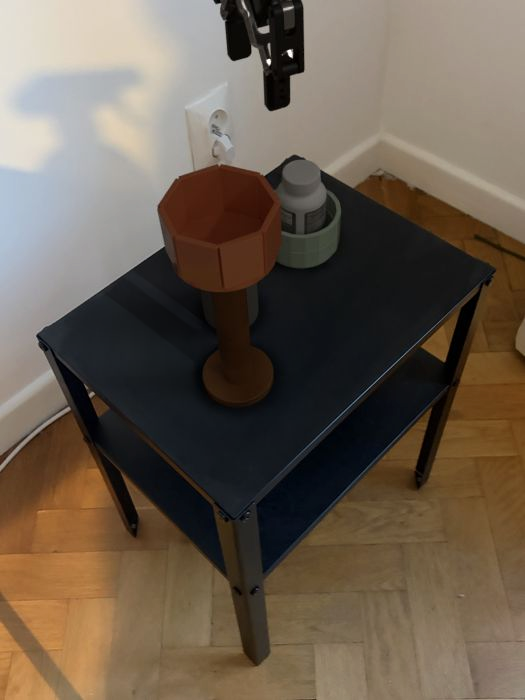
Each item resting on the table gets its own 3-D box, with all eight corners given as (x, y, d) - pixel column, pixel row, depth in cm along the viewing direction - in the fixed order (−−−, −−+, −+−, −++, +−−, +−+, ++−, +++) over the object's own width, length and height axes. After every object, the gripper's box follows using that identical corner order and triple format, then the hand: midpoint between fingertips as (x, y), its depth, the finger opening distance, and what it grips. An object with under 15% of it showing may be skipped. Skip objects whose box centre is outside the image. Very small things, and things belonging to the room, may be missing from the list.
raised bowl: (192, 307, 55) (184, 261, 51) (155, 233, 59) (145, 186, 55) (296, 270, 56) (296, 223, 52) (252, 201, 61) (249, 153, 57)
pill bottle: (322, 221, 84) (325, 153, 76) (326, 255, 81) (329, 188, 73) (276, 223, 84) (274, 155, 76) (278, 257, 81) (276, 190, 73)
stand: (219, 418, 70) (198, 296, 55) (193, 364, 74) (168, 236, 59) (285, 391, 71) (282, 266, 57) (256, 340, 75) (247, 210, 61)
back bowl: (282, 279, 80) (281, 247, 76) (251, 229, 85) (248, 196, 81) (352, 254, 82) (355, 222, 78) (317, 206, 86) (318, 173, 82)
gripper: (168, -139, 56) (192, 53, 70) (239, -63, 49) (251, 137, 62) (256, -159, 58) (263, 33, 71) (339, -87, 50) (330, 113, 63)
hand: (258, 81), depth 66 cm, fingers open, 8 cm apart
